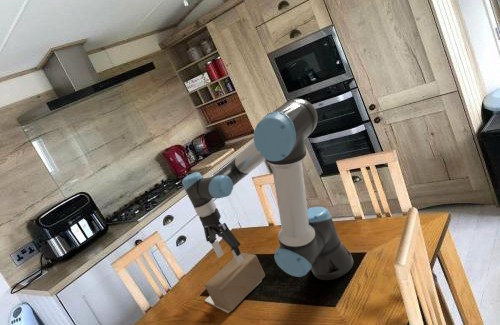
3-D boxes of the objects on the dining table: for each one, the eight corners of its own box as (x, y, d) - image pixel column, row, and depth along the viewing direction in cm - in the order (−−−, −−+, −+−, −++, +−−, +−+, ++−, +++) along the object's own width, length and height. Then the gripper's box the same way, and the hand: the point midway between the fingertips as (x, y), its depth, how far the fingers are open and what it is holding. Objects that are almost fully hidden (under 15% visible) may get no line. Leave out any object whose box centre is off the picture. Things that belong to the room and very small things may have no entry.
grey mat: (262, 280, 143) (261, 279, 143) (228, 313, 133) (227, 311, 133) (237, 272, 156) (237, 271, 155) (205, 301, 146) (204, 300, 146)
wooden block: (266, 275, 144) (231, 312, 132) (249, 271, 151) (214, 306, 139) (256, 254, 141) (219, 289, 129) (239, 251, 149) (203, 284, 137)
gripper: (234, 208, 131) (257, 258, 136) (198, 204, 150) (220, 248, 156) (218, 220, 126) (242, 271, 132) (184, 214, 146) (206, 258, 152)
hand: (230, 258), depth 144 cm, fingers open, 13 cm apart
